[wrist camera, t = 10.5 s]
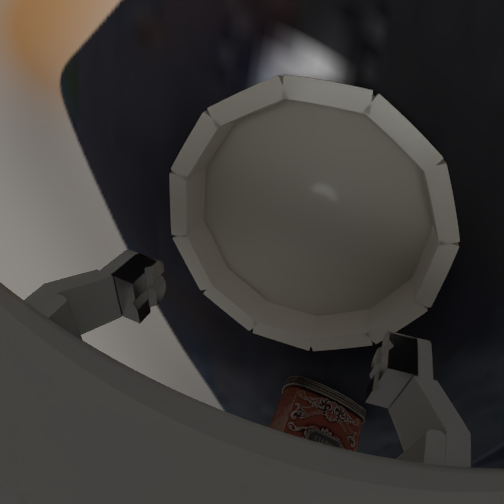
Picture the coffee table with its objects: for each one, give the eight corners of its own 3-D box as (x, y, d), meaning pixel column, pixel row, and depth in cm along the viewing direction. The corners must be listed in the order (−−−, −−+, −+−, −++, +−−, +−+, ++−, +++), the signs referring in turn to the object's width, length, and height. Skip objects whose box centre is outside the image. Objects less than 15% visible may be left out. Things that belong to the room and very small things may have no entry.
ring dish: (475, 122, 11) (496, 131, 9) (394, 338, 19) (392, 373, 16) (203, 68, 15) (171, 68, 12) (198, 279, 22) (176, 305, 20)
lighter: (374, 410, 23) (351, 518, 15) (350, 424, 25) (323, 521, 17) (297, 369, 23) (251, 483, 15) (277, 386, 25) (232, 487, 17)
